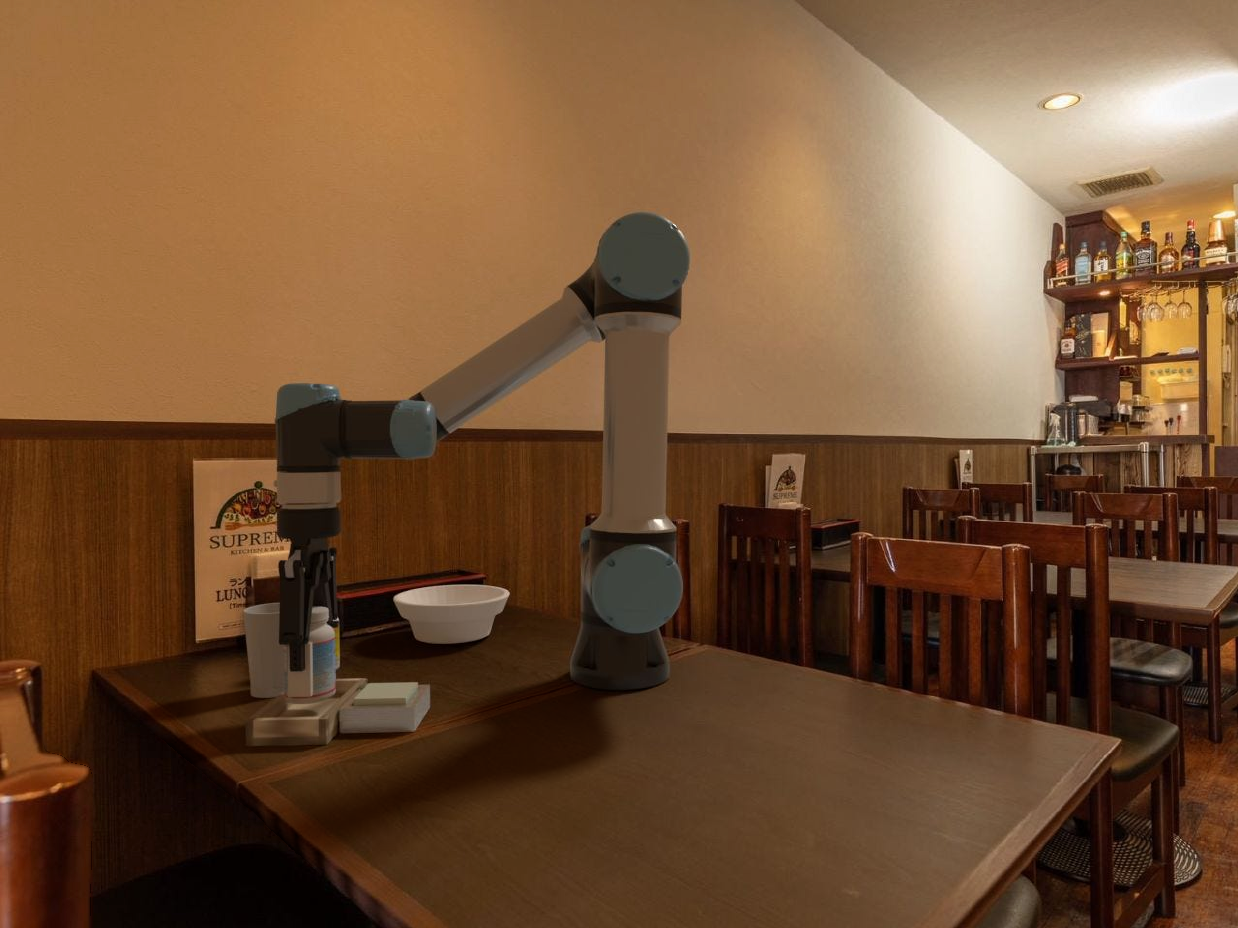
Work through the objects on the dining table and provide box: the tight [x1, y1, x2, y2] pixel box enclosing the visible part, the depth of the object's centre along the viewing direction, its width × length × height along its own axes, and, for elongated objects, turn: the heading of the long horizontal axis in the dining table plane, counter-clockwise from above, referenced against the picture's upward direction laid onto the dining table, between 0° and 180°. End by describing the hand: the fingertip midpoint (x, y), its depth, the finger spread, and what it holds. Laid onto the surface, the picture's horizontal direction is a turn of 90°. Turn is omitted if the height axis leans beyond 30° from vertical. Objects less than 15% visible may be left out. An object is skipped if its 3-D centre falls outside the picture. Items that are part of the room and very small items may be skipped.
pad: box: [354, 681, 419, 706], centre depth 96 cm, size 6×6×1 cm
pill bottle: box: [284, 607, 337, 704], centre depth 95 cm, size 6×6×11 cm
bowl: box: [392, 584, 511, 645], centre depth 139 cm, size 21×21×8 cm
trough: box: [244, 677, 368, 747], centre depth 95 cm, size 9×16×3 cm, turn 2°
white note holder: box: [339, 682, 431, 734], centre depth 96 cm, size 9×9×3 cm
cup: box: [242, 602, 284, 699], centre depth 108 cm, size 8×8×12 cm
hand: (310, 686), depth 95 cm, fingers closed on pill bottle, 6 cm apart
